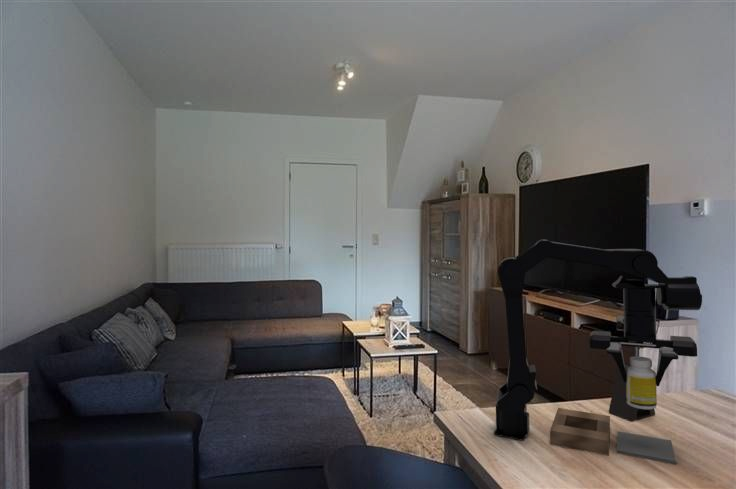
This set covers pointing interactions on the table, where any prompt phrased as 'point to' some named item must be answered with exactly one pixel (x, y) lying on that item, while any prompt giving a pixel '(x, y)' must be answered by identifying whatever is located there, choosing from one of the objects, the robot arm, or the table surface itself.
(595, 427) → the pocket holder
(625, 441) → the coaster
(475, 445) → the table surface
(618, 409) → the phone stand
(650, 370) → the supplement bottle
